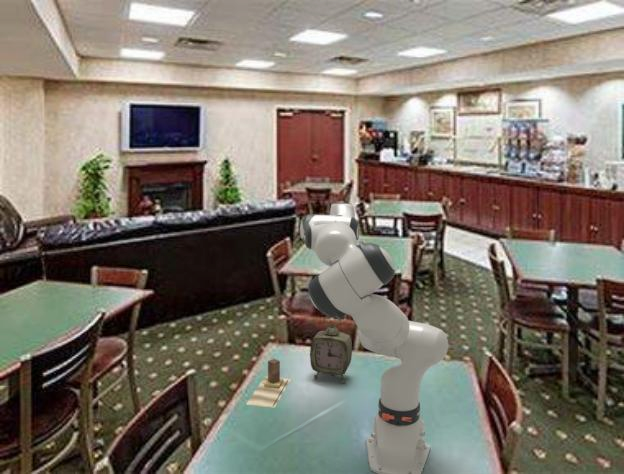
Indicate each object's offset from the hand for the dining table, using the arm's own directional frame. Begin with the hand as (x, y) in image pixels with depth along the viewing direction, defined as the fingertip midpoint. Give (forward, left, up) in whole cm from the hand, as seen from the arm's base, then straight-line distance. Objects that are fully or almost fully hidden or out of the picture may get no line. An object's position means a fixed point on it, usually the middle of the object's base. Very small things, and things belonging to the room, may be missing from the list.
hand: (340, 290), depth 178 cm
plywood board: (-5, +24, -39) cm, 46 cm away
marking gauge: (+1, +24, -38) cm, 45 cm away
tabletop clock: (+14, +5, -39) cm, 42 cm away
